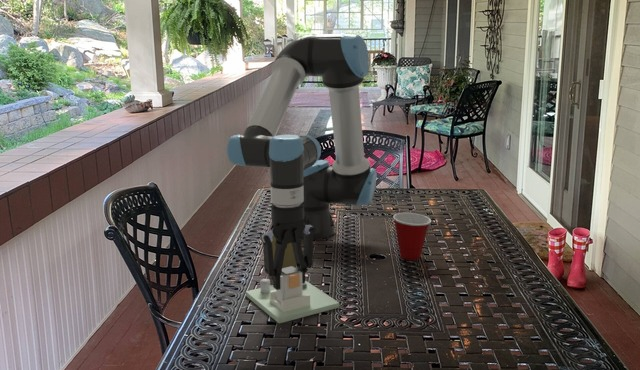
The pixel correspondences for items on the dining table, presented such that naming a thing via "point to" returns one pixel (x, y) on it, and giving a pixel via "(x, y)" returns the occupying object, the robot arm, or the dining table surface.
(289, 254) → the squeeze bottle
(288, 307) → the board
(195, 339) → the dining table surface
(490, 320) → the dining table surface
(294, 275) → the plug
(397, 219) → the plastic cup
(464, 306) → the dining table surface
